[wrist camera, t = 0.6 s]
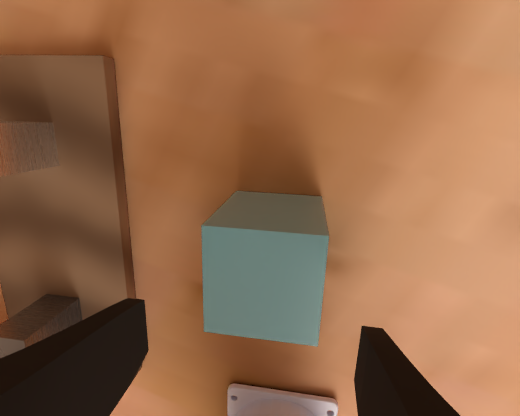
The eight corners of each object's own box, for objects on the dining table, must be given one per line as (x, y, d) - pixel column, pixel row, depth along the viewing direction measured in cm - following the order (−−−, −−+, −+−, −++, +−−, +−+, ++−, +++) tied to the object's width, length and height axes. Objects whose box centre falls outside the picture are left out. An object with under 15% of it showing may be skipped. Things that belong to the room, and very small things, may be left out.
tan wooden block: (59, 165, 19) (-12, 178, 15) (22, 163, 20) (-57, 175, 15) (53, 122, 19) (-24, 123, 14) (15, 121, 19) (-71, 121, 15)
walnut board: (141, 366, 24) (135, 376, 23) (28, 349, 26) (17, 358, 25) (113, 58, 18) (102, 55, 17) (-35, 57, 19) (-52, 54, 18)
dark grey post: (84, 329, 23) (32, 377, 18) (52, 324, 23) (-7, 371, 19) (79, 297, 22) (23, 340, 18) (46, 293, 22) (-16, 335, 18)
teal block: (314, 274, 20) (317, 346, 14) (235, 266, 21) (203, 331, 14) (321, 196, 18) (328, 236, 12) (236, 190, 19) (201, 225, 13)
